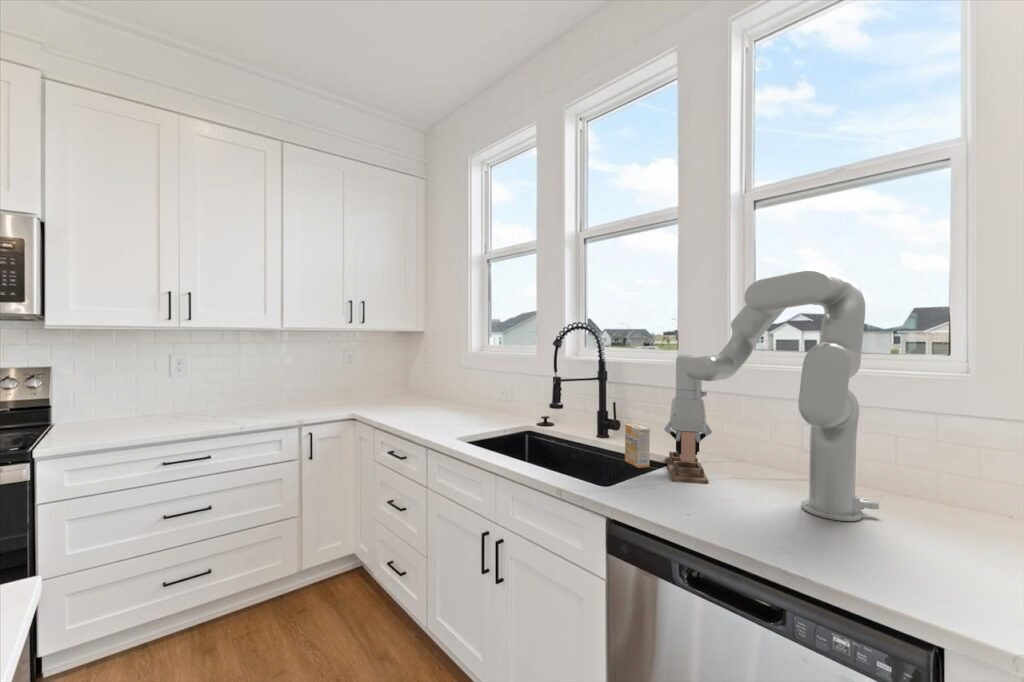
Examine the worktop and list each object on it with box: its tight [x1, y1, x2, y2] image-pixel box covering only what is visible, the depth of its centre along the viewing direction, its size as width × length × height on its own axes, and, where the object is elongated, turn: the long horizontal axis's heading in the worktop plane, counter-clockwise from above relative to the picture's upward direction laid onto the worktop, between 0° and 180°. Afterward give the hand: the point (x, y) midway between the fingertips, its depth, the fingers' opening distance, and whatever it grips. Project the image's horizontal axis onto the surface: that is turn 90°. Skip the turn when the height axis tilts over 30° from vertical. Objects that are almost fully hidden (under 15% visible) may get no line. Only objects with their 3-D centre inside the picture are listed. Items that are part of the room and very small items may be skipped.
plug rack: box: [665, 450, 709, 485], centre depth 151 cm, size 10×24×8 cm, turn 167°
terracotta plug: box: [680, 432, 696, 462], centre depth 145 cm, size 4×4×9 cm
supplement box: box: [624, 423, 651, 469], centre depth 158 cm, size 8×5×13 cm, turn 17°
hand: (687, 453), depth 145 cm, fingers closed on terracotta plug, 4 cm apart
